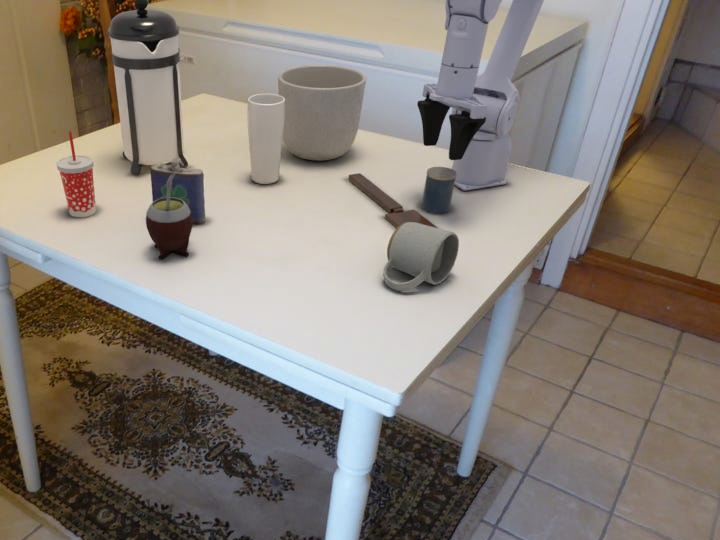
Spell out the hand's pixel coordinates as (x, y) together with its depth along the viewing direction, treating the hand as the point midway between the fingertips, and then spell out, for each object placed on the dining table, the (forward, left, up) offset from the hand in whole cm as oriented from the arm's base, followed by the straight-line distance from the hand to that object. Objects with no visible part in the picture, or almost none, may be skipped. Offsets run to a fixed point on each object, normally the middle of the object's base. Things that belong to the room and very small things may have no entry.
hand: (442, 152), depth 113 cm
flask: (+43, -11, -10) cm, 45 cm away
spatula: (+7, -4, -10) cm, 13 cm away
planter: (+8, -31, -10) cm, 33 cm away
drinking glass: (+23, -22, -10) cm, 33 cm away
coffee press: (+41, -39, -10) cm, 57 cm away
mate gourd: (+47, 0, -10) cm, 48 cm away
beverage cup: (+58, -20, -10) cm, 62 cm away
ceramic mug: (+16, +20, -10) cm, 27 cm away
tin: (0, 0, -10) cm, 10 cm away
